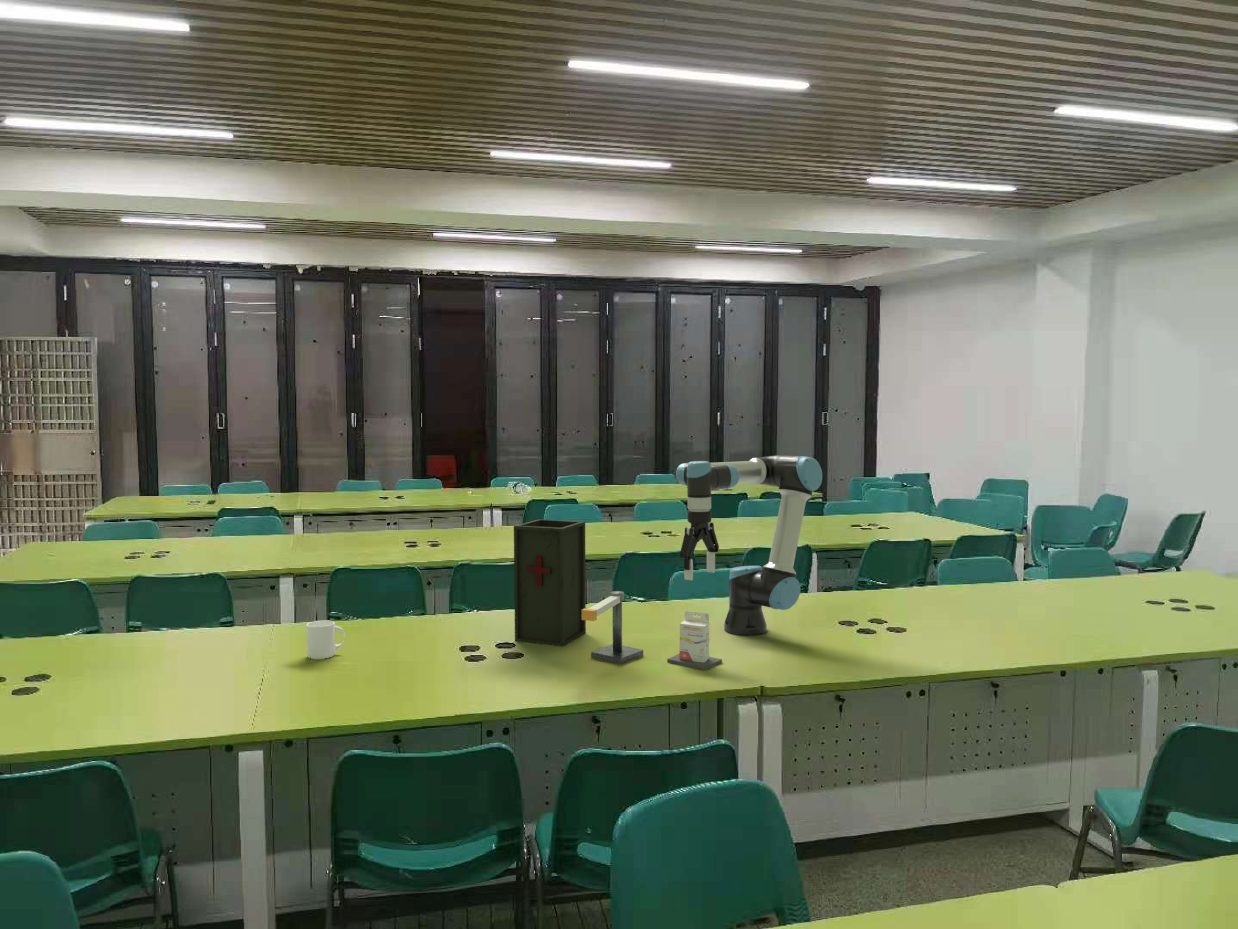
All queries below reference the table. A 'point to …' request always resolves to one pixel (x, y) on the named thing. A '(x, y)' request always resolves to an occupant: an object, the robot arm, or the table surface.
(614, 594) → the bar
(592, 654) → the arm post
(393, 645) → the table surface
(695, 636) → the ink cartridge box
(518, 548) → the first aid box
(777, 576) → the robot arm
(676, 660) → the rubber mat
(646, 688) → the table surface
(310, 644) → the mug
